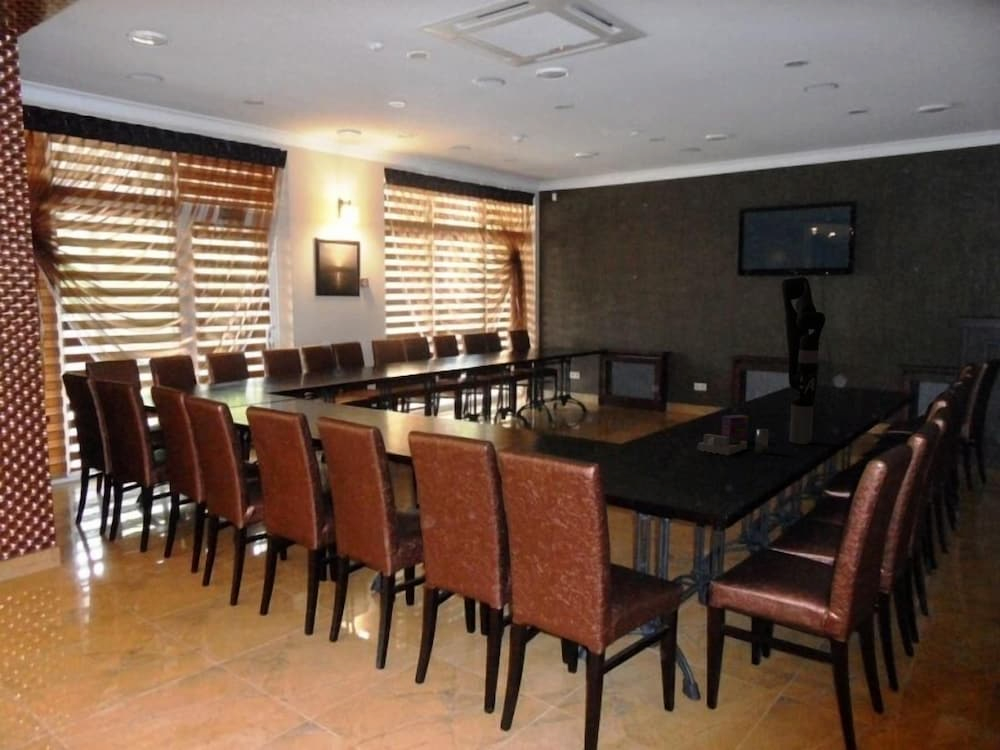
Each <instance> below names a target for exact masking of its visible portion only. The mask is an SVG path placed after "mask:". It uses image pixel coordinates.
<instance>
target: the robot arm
mask: <svg viewBox="0 0 1000 750" xmlns="http://www.w3.org/2000/svg"><path fill="white" fill-rule="evenodd" d="M781 292H782V300H783V306H784V313H785V328H786V331H785V332H786V333H785V334H786V341H787V350H788V351H787V353H788V354H787V355H788V384H789V387H790V388H791V389H793V390H797V392H798V393H799V396H795V397H793V398H792V399H791V405H790V419H789V421H790V423H789V438H788V439H789V441H790V443H793V444H796V443H797V445H809V444H808V443H810V444H812V435H813V434H812V433H813V417H814V405H815V404H814V403H815V399H816V391H817V385H818V377H817V374H818V372H819V358H820V355H819V347H820V339H821V334H822V332H823V329H824V326H825V323H826V316H825V314H824V313H823V312H822V311H817V308H816V306H815V304H814V302H813V296H812V290H811V285H810V281H809V280H808V278H807V277H804V276H803V277H801V276H800V277H793V278H787V279H783V280H782V283H781ZM792 300H796V302H795V307H794V305H793V303H792ZM809 330H813V331H812V332H811V333H810V331H809Z"/></svg>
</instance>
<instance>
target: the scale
mask: <svg viewBox="0 0 1000 750" xmlns="http://www.w3.org/2000/svg"><path fill="white" fill-rule="evenodd" d="M747 448H748V441H747V442H746V441H741V440H740V439H737V438H733V437H726V436H722V435H717V434H712V433H705V434H703V441H700V442H698V443H697V451H698V450H700V451H699V452H704V451H706V453H710V452H712V453H711V454H716V453H719V454H718V455H722V454H724V456H728V455H729V456H732V455H734V454H737V453H739V452H741V450H742V451H744V450H747ZM743 449H744V450H743ZM738 451H739V452H738ZM736 452H737V453H736ZM733 453H734V454H733ZM731 454H732V455H731Z"/></svg>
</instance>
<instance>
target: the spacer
mask: <svg viewBox="0 0 1000 750" xmlns="http://www.w3.org/2000/svg"><path fill="white" fill-rule="evenodd" d="M769 431H770V429H767V428H756V429H755V440H754V441H755V444H754V453H755V454H757V453H760V454H759V455H767V454H768V447H769V433H770V432H769Z"/></svg>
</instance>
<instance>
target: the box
mask: <svg viewBox="0 0 1000 750" xmlns="http://www.w3.org/2000/svg"><path fill="white" fill-rule="evenodd" d="M721 422H722V423H721V436H726V437H733V438H737V439H740V440H741V441H746V442H747V443H748V435H749V433H748V431H749V416H748V415H745V414H744V415H743V414H734V415H732V414H731V415H722V419H721Z"/></svg>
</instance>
